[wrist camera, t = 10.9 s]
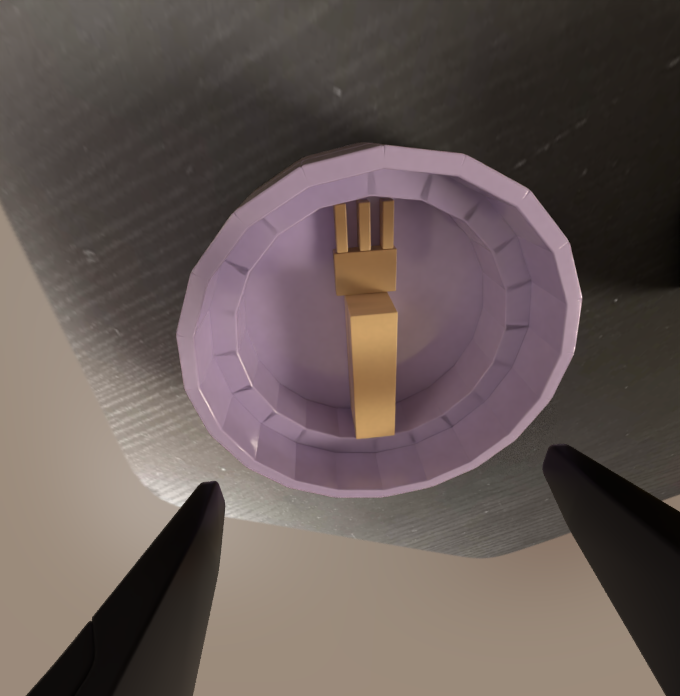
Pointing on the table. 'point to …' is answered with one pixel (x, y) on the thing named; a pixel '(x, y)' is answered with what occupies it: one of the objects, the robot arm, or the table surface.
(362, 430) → the fork
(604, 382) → the table surface
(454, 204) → the bowl
